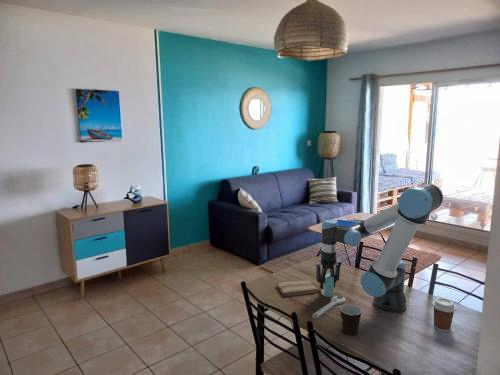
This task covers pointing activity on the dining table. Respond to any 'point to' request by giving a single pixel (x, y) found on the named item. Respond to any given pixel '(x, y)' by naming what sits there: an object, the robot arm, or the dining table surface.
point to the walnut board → (296, 287)
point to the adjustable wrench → (328, 306)
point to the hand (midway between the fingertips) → (327, 293)
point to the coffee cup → (443, 313)
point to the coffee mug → (350, 319)
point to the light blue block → (329, 285)
